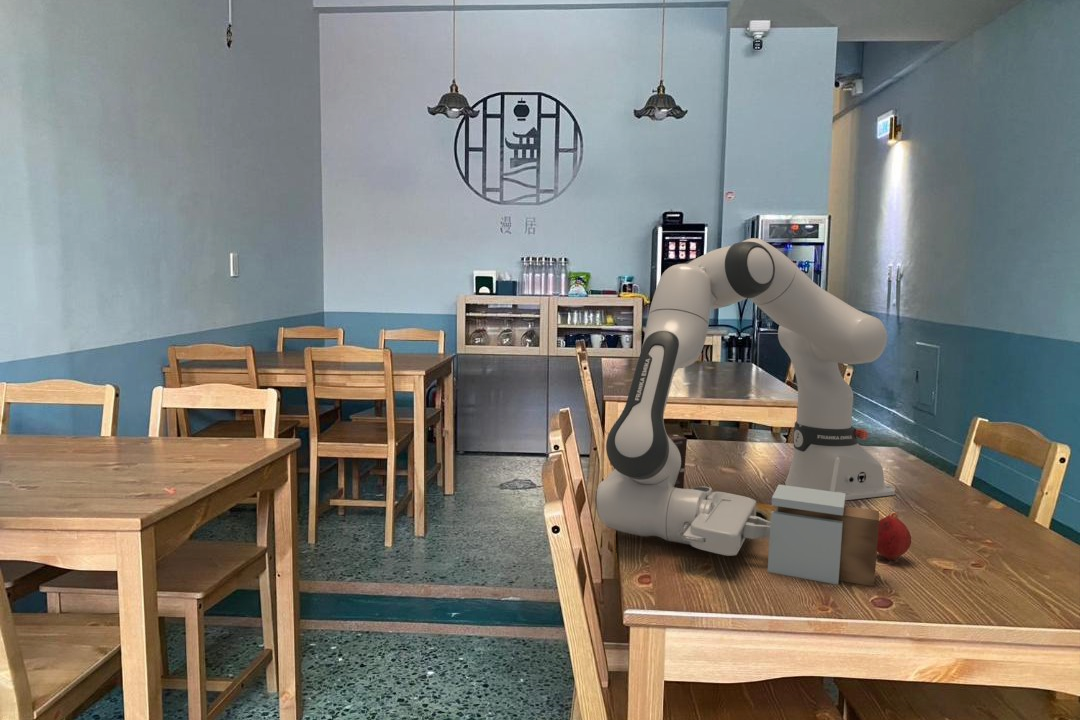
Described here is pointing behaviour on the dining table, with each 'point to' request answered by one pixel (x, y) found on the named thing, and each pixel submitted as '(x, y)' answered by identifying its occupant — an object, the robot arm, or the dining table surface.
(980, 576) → the dining table surface
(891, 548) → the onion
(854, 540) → the walnut block
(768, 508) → the pastry
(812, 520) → the grey slotted cube
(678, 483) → the box
